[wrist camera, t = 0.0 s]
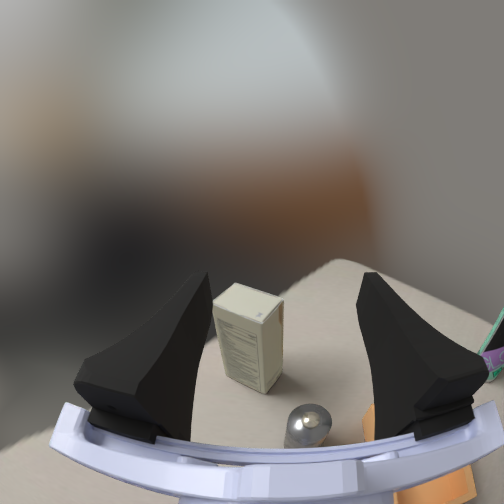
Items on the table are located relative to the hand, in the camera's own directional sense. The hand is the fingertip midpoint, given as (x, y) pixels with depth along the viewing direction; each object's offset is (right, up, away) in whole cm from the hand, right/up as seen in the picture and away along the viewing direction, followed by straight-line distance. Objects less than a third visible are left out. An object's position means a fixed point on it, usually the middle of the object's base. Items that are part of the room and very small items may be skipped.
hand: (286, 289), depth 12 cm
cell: (+4, -19, +11) cm, 22 cm away
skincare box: (-1, -14, +20) cm, 25 cm away
